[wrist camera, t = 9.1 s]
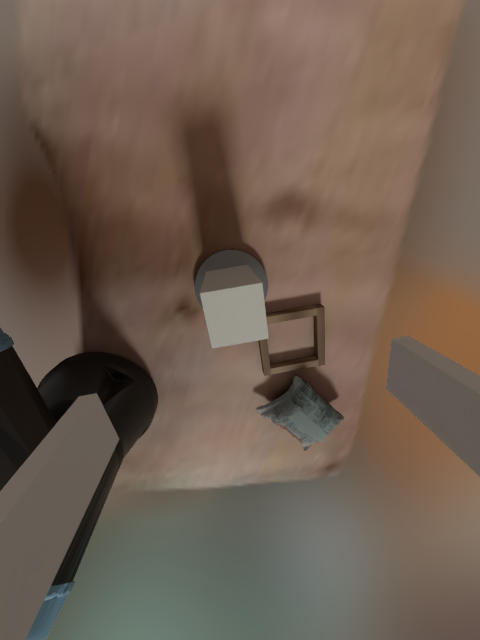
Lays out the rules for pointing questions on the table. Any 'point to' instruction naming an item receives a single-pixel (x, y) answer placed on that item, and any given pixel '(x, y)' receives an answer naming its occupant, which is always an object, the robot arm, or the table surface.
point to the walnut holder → (318, 339)
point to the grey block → (234, 306)
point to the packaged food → (302, 413)
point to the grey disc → (226, 261)
